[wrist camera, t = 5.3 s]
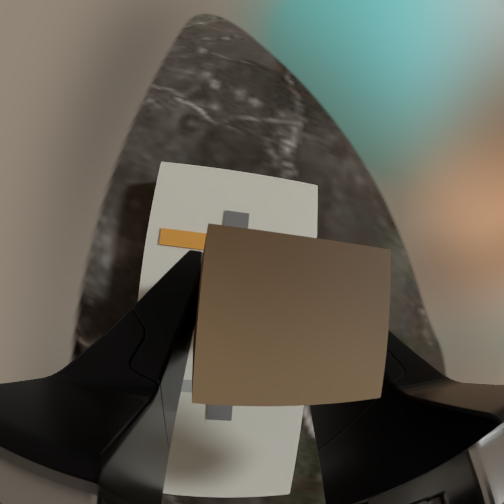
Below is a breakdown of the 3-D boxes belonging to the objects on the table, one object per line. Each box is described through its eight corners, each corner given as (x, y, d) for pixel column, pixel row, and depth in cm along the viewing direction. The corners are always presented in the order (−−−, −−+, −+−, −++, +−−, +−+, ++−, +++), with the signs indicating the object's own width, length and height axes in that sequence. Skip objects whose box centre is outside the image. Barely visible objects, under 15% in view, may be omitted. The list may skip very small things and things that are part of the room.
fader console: (277, 474, 15) (290, 495, 12) (142, 468, 13) (136, 490, 11) (302, 200, 18) (318, 184, 16) (164, 180, 17) (161, 160, 14)
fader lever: (257, 340, 13) (380, 397, 4) (193, 335, 13) (192, 402, 4) (262, 288, 14) (390, 249, 5) (198, 281, 13) (208, 223, 4)
